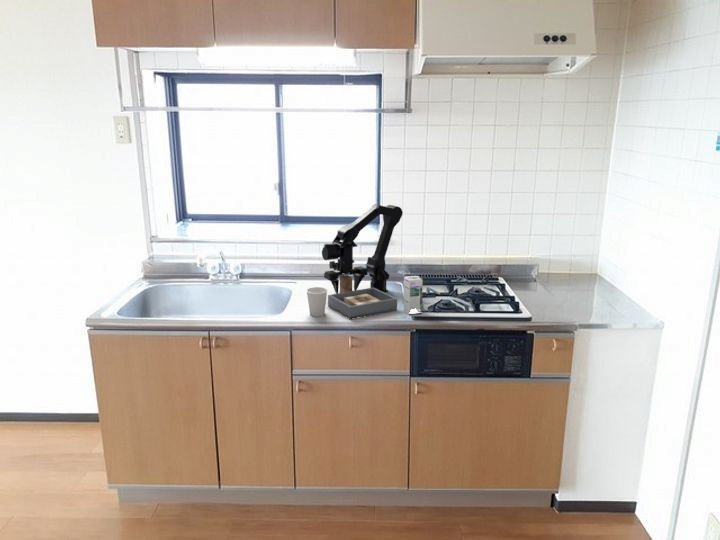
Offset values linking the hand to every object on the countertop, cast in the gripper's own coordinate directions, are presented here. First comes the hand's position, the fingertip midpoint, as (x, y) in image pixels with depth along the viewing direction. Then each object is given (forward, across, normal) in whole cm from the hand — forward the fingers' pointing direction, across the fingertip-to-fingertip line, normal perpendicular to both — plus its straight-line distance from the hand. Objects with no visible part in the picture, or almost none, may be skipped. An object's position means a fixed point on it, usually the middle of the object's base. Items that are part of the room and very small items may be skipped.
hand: (346, 292), depth 234 cm
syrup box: (+2, -13, +31) cm, 34 cm away
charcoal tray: (+2, +2, +17) cm, 17 cm away
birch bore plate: (+2, +2, +17) cm, 17 cm away
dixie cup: (+2, +21, +14) cm, 25 cm away
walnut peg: (+2, 0, 0) cm, 2 cm away
